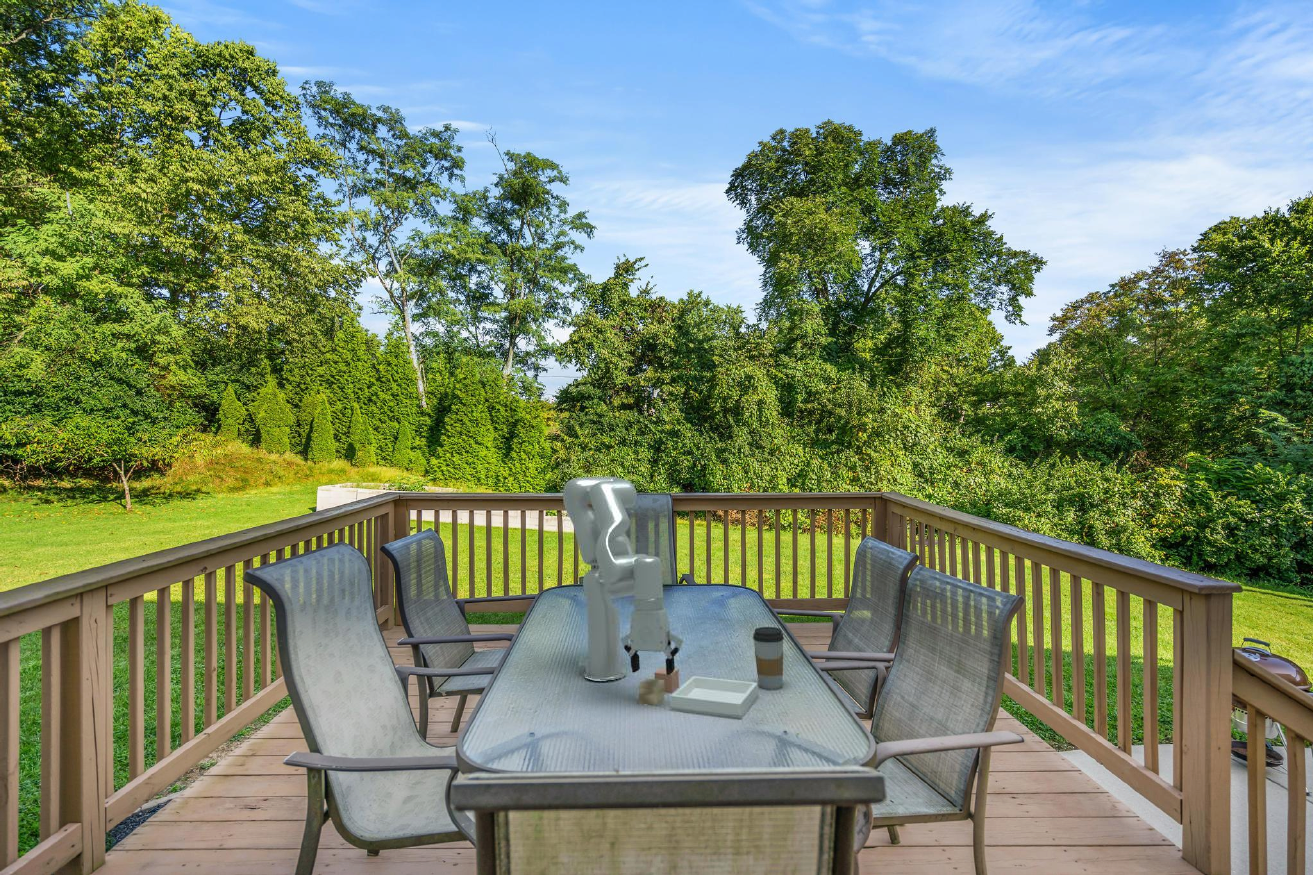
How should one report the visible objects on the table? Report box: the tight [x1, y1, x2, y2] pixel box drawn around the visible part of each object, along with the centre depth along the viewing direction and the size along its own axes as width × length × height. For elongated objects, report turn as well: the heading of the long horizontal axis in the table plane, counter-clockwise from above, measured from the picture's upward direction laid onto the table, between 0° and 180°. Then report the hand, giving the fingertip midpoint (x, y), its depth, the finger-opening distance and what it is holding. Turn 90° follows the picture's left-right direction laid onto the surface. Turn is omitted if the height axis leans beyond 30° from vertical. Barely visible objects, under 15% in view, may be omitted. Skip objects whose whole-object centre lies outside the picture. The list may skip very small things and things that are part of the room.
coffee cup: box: [752, 626, 784, 691], centre depth 171 cm, size 8×8×15 cm
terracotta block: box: [654, 667, 680, 694], centre depth 171 cm, size 5×5×5 cm
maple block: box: [637, 678, 666, 707], centre depth 162 cm, size 5×5×5 cm
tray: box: [669, 675, 759, 720], centre depth 159 cm, size 18×16×4 cm
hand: (652, 672), depth 161 cm, fingers open, 9 cm apart
